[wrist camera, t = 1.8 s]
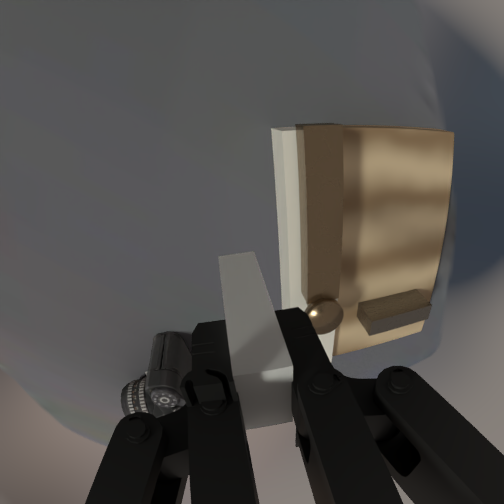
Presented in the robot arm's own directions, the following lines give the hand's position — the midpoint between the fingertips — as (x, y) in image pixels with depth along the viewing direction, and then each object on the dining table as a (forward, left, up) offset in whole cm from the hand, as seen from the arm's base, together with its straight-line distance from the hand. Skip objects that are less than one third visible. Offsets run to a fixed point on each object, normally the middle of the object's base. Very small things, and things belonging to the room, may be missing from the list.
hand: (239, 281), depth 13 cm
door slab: (+8, +17, -16) cm, 25 cm away
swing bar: (+4, +7, -12) cm, 14 cm away
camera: (+23, -11, -16) cm, 30 cm away
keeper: (+14, +17, -13) cm, 26 cm away
